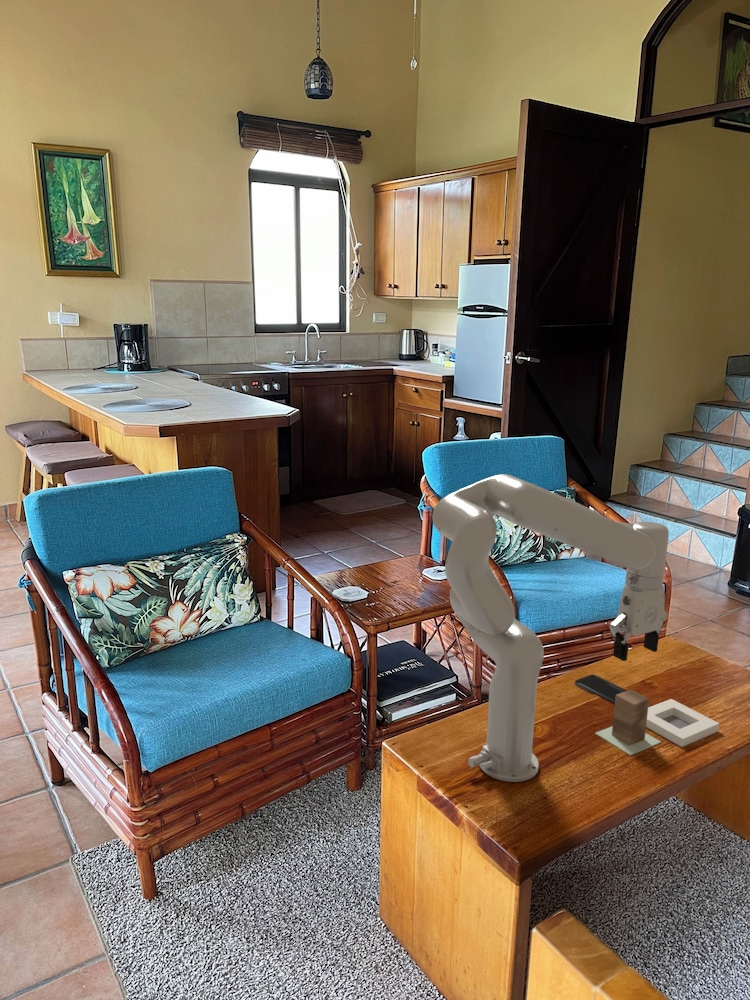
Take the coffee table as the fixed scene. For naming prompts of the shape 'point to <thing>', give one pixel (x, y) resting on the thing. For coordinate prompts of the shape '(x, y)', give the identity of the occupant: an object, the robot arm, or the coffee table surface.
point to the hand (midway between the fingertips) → (635, 653)
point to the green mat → (631, 749)
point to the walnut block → (630, 717)
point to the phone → (599, 687)
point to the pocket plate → (679, 723)
